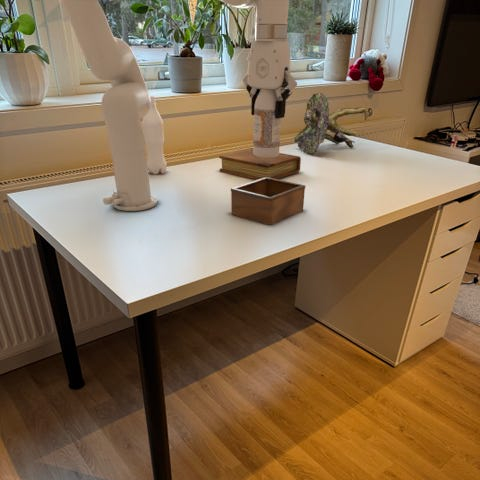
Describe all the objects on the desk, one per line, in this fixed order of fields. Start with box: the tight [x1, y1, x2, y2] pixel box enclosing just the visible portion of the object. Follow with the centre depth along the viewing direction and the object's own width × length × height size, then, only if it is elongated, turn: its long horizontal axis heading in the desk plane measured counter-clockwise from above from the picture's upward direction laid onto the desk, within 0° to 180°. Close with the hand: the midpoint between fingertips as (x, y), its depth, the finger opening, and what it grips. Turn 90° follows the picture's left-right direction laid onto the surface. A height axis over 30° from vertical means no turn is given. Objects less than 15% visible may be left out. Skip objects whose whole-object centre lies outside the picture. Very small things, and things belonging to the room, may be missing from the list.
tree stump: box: [294, 92, 367, 155], centre depth 194 cm, size 23×26×35 cm
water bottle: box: [141, 96, 168, 175], centre depth 158 cm, size 7×7×25 cm
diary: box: [218, 147, 302, 181], centre depth 164 cm, size 23×19×6 cm
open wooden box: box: [230, 177, 306, 226], centre depth 125 cm, size 16×14×7 cm
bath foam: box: [252, 88, 282, 158], centre depth 115 cm, size 7×7×20 cm
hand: (267, 115), depth 115 cm, fingers closed on bath foam, 7 cm apart
